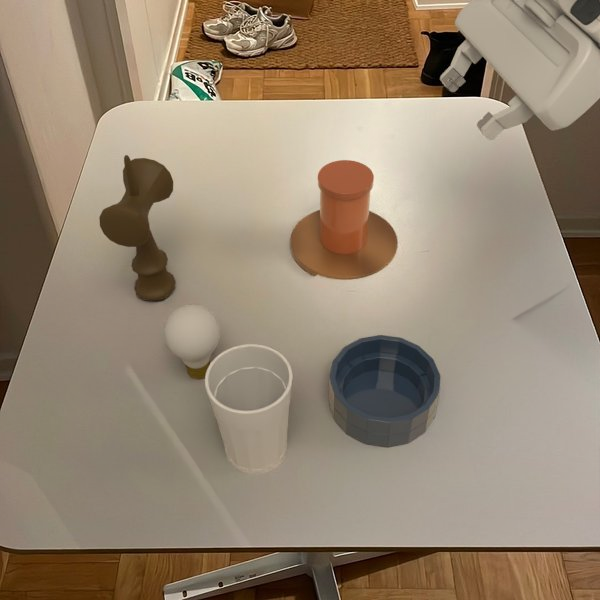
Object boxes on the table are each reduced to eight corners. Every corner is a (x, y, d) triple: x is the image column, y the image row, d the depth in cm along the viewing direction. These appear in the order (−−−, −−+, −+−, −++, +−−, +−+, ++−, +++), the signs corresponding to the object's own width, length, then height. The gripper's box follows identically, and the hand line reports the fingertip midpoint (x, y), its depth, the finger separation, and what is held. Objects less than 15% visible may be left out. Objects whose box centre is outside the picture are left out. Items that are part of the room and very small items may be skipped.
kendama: (189, 265, 95) (166, 132, 81) (167, 320, 88) (139, 185, 74) (144, 260, 96) (114, 127, 81) (120, 314, 89) (82, 180, 75)
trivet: (353, 199, 104) (354, 193, 103) (419, 254, 96) (419, 248, 95) (270, 237, 99) (270, 231, 98) (331, 298, 90) (332, 292, 90)
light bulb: (235, 363, 84) (228, 302, 76) (209, 402, 80) (199, 342, 73) (190, 347, 85) (179, 286, 78) (163, 384, 82) (148, 324, 74)
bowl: (389, 349, 85) (392, 320, 81) (456, 415, 78) (463, 387, 75) (309, 394, 80) (309, 365, 77) (373, 468, 74) (376, 441, 70)
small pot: (348, 215, 100) (351, 153, 93) (380, 242, 96) (385, 180, 89) (307, 234, 97) (306, 172, 90) (337, 263, 93) (339, 200, 86)
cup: (202, 446, 76) (187, 373, 67) (263, 404, 80) (256, 330, 71) (249, 499, 72) (239, 429, 63) (311, 453, 75) (310, 380, 67)
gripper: (508, -62, 74) (408, 44, 79) (618, 26, 60) (488, 147, 65) (540, -22, 78) (442, 76, 83) (650, 69, 64) (524, 180, 69)
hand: (463, 108), depth 74 cm, fingers open, 8 cm apart
